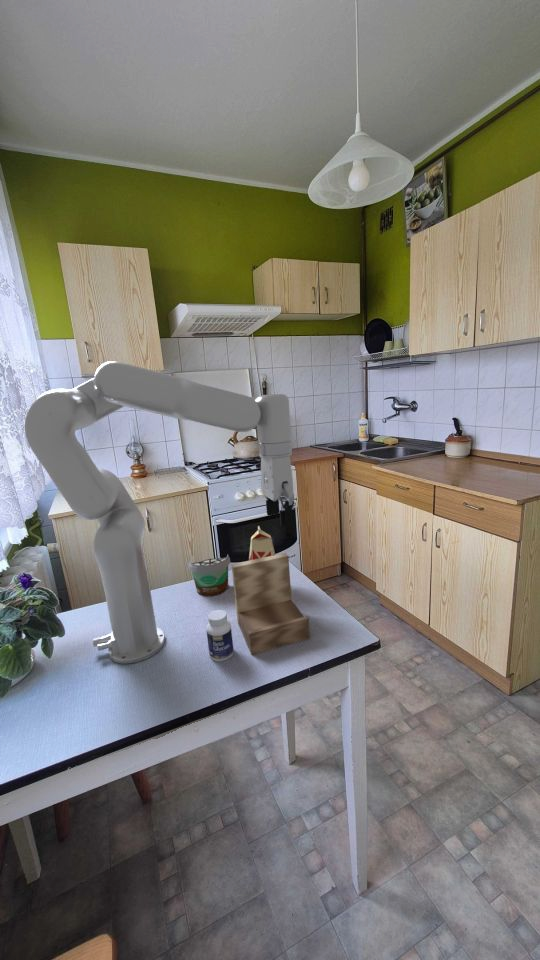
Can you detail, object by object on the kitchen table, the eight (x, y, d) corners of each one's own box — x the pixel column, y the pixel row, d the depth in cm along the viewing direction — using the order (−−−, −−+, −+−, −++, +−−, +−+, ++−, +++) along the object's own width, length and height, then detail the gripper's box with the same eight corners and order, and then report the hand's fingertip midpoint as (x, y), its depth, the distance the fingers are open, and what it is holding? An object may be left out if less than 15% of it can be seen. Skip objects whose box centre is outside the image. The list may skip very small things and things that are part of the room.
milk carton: (281, 599, 106) (275, 530, 101) (248, 601, 106) (241, 533, 102) (281, 583, 115) (276, 519, 110) (250, 584, 115) (244, 521, 111)
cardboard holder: (251, 654, 84) (244, 588, 81) (237, 623, 96) (231, 564, 93) (309, 638, 88) (305, 574, 85) (289, 609, 100) (285, 553, 97)
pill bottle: (213, 665, 82) (208, 624, 80) (206, 651, 86) (201, 612, 84) (237, 656, 84) (233, 616, 82) (229, 643, 89) (224, 605, 86)
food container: (192, 602, 108) (188, 569, 106) (191, 592, 114) (187, 560, 111) (236, 593, 111) (232, 561, 108) (232, 584, 116) (229, 553, 114)
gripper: (249, 447, 95) (254, 513, 99) (272, 456, 79) (277, 534, 83) (277, 443, 97) (281, 508, 101) (305, 451, 81) (309, 528, 85)
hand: (280, 520), depth 92 cm, fingers open, 9 cm apart
